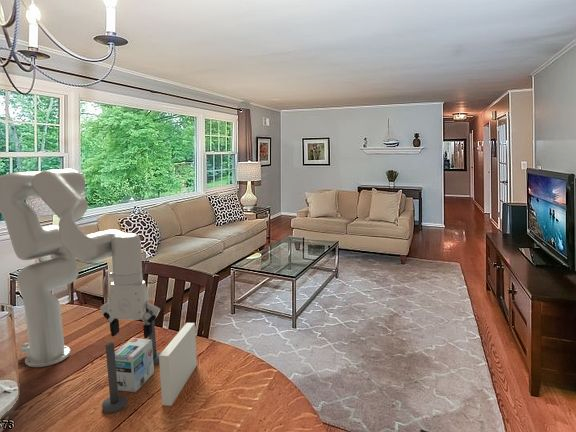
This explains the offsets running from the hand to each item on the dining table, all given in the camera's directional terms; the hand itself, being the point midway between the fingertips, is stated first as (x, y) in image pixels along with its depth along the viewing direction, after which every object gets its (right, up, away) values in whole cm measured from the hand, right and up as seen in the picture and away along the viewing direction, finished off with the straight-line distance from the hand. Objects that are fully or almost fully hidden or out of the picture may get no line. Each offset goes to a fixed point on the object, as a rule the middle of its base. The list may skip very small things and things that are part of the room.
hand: (131, 335), depth 113 cm
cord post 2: (+2, -12, +13) cm, 18 cm away
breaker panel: (+14, -14, +1) cm, 20 cm away
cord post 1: (-1, -16, -9) cm, 18 cm away
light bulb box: (0, -14, +2) cm, 14 cm away
